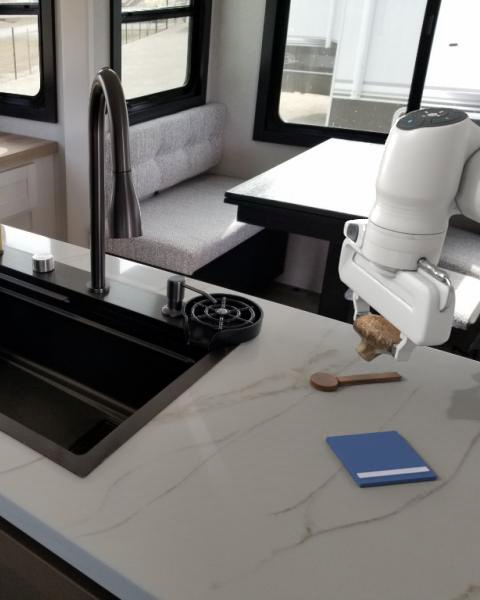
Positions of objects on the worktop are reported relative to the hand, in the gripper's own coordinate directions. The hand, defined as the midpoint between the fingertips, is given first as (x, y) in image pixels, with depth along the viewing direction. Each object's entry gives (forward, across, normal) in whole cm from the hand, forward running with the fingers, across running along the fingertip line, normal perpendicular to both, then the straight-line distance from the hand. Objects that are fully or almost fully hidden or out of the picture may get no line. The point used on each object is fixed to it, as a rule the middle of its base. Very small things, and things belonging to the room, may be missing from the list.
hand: (379, 340), depth 86 cm
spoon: (+12, +7, -2) cm, 14 cm away
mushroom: (+3, 0, -1) cm, 3 cm away
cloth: (+12, -10, +3) cm, 16 cm away
